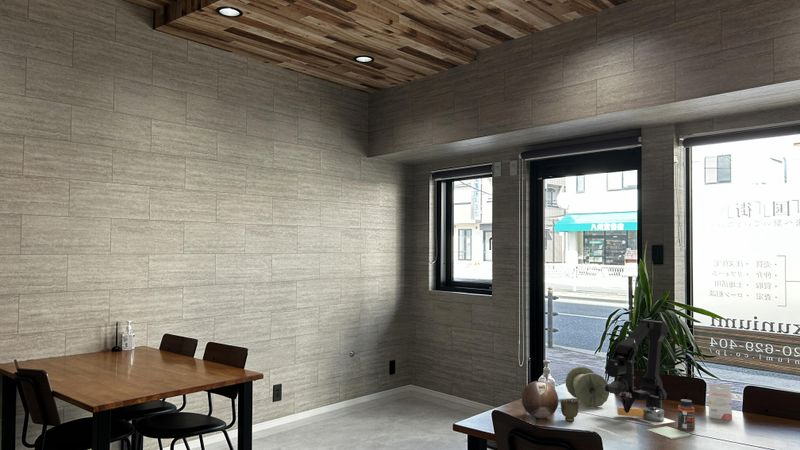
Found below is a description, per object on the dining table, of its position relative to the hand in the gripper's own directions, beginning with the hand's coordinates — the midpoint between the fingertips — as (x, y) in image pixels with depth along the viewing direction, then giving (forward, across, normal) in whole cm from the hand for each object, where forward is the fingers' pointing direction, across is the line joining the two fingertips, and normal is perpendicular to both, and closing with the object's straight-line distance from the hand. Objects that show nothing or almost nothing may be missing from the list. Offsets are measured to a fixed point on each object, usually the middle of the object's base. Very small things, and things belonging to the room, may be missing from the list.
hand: (626, 412), depth 239 cm
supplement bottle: (+4, +19, +12) cm, 22 cm away
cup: (+3, -8, -23) cm, 25 cm away
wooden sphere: (+3, -18, -31) cm, 36 cm away
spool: (+3, -28, +5) cm, 29 cm away
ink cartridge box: (+4, +14, +39) cm, 41 cm away
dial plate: (+3, +5, +10) cm, 11 cm away
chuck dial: (+3, +2, +6) cm, 7 cm away
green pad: (+3, +20, +1) cm, 20 cm away
